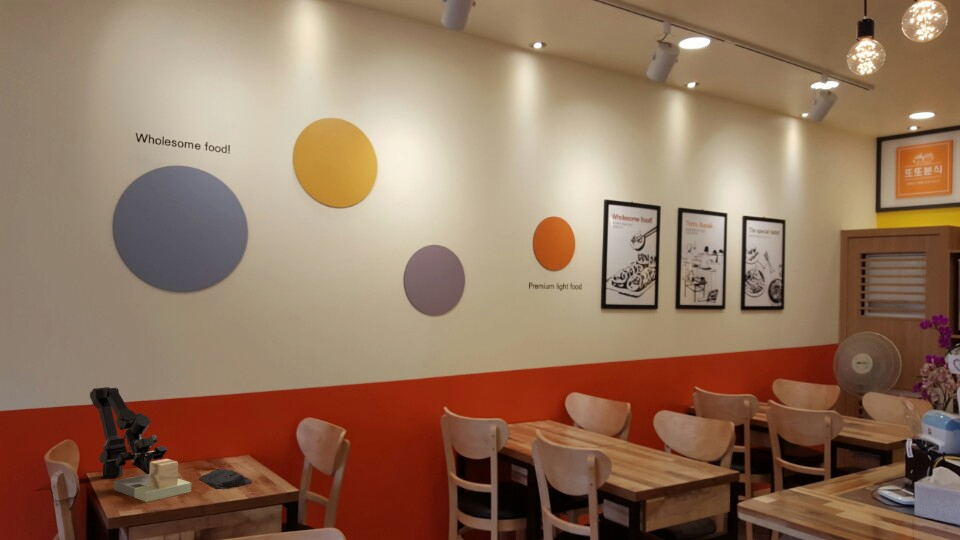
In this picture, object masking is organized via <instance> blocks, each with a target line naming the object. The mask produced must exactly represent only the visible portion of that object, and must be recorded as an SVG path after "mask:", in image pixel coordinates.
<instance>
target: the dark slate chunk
mask: <svg viewBox="0 0 960 540" xmlns="http://www.w3.org/2000/svg"><path fill="white" fill-rule="evenodd" d="M198 480H199V481H201V482H202V483H204V484H206V485H208V486H209V487H211V488H213V489H215V490H224V489H225V490H226V489H230V488H238V487H243V486H246V485H249V484H252V483H253V481H252V480H251V479H249V478H248V477H245V476H244V474H241V473H239V472H236V471H235V470H233V469H229V470H228V469H226V468H225V469H222V468H216V469H214V470H212V471H210V472H209V473H206V474H204V475H201V476H200V477H199V478H198Z"/></svg>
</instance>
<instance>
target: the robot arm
mask: <svg viewBox="0 0 960 540" xmlns="http://www.w3.org/2000/svg"><path fill="white" fill-rule="evenodd" d="M119 391H120V390H119V388H118V387H110V386H106V387H96V388H92V390H91V391H90V392H89V399H90V400H91V403H92V405H93V406H94V407H95V408H96V409H97V410H98V413H99V418H100V422H101V425H102V430H103V434H104V439H105V442H104V444H103V446H102V452H101V454H100V456H99V459H98V460H99V463H101V464H102V475H101V476H100V478H101V479H103V478H104V479H105V478H106V479H117V478H119V477H120V476H122V475H124V473H123V467H124V466H125V465H126V464H127V462H128V461H132V463H131V466H134V467H136V468H137V469H140V470H141V471H142V472H143V473H144V474H150V462H152V460H153V461H158V460H162V459H164V458H163V457H164V456H165V454H166V453H167V452H168V448H167V446H165V445H161V446H156V447H154V448H153V450H151V449H152V446H154V445H155V444H157V443H158V437H157V435H156V434H154V435H150V436H149V437H143V434H144V433H145V432H146V430H147V429H148V427H149V426H150V424H151V418H150V417H148V416H147V415H145V414H143V412H140V413H137V414H136V412H134V411H133V410H130V409H129V408H128V406H127V404H126V402H125V401H124V399H123V398H122V396H121V394H120V392H119ZM113 412H114V414H115V416H116V420H115V418H114V414H113ZM116 425H117V426H116ZM117 428H118V430H120V431H122V430H123V431H124V430H126V431H125V432H124V435H123V436H122V438H121V437H120V436H119V434H118V430H117ZM125 440H126V441H125ZM126 442H127V444H128V447H127V445H126ZM150 450H151V451H150Z"/></svg>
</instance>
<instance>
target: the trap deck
mask: <svg viewBox="0 0 960 540" xmlns="http://www.w3.org/2000/svg"><path fill="white" fill-rule="evenodd" d="M149 475H150V474H146V473H144V474H142V475H137V476H131V477H127V478H121V479H117V480H114V481H113V491H116V492H119V493H121V494H124V495H127V496H130V497H131V498H135V499H138V500H140V501H141V502H145V503H148V502H153V501H157V500H162V499H165V498H170V497H173V496H174V497H175V496H179V495H183V494H188V493H191V492H192V482H190V481H186V480H183V479H181V478H178V482H177V486H172V487H168V488H163V489H158V488H155V487H152V486H150V485H149Z"/></svg>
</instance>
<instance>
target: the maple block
mask: <svg viewBox="0 0 960 540" xmlns="http://www.w3.org/2000/svg"><path fill="white" fill-rule="evenodd" d="M178 472H179V462H178V461H177V460H173V459H169V458H162V459H157V460H153V461H152V460H151V462H150V475H149V485H150V486H152V487H155V488H158V489H163V488H168V487H172V486H177V482H178V479H179V474H178Z"/></svg>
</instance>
